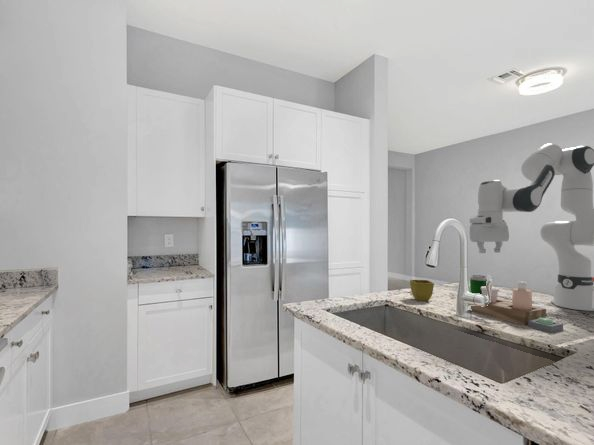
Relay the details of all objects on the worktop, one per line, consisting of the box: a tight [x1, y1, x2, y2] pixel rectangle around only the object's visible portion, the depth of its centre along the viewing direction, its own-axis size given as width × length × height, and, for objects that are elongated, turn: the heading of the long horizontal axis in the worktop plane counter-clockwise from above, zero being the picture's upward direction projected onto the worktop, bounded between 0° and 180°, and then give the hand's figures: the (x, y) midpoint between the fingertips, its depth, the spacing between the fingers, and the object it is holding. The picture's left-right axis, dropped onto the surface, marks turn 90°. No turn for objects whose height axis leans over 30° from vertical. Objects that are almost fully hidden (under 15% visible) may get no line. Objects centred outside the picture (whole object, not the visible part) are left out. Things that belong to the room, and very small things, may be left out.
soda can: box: [469, 274, 488, 294], centre depth 157 cm, size 8×8×12 cm
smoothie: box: [481, 286, 500, 303], centre depth 133 cm, size 6×6×14 cm
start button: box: [538, 317, 554, 325], centre depth 111 cm, size 4×4×4 cm
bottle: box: [511, 281, 533, 311], centre depth 121 cm, size 6×6×14 cm
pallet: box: [471, 298, 547, 326], centre depth 127 cm, size 13×22×6 cm, turn 25°
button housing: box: [527, 319, 564, 333], centre depth 111 cm, size 7×7×3 cm
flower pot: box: [409, 279, 435, 302], centre depth 157 cm, size 9×9×9 cm
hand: (489, 252), depth 134 cm, fingers open, 8 cm apart
